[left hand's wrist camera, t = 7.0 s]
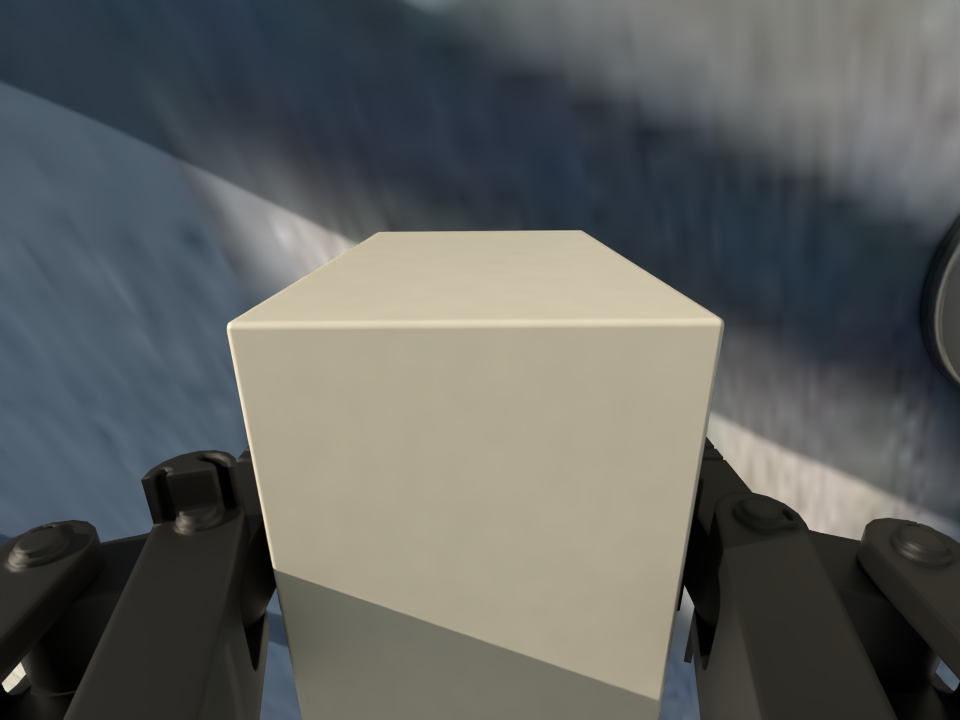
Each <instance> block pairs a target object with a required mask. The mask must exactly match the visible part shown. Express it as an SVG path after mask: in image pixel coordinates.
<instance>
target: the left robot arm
mask: <svg viewBox="0 0 960 720" xmlns="http://www.w3.org/2000/svg"><path fill="white" fill-rule="evenodd" d="M141 481H142V484H143V488H144V491H145V495H146V498H147V502H148V505H149V509H150V512H151V516H152V519H153V523H154V525H153V528H152V530H151V532H150V533H146V534H142V535H138V536H133V537H128V538H123V539H118V540H113V541H108V542H103V543H100V540H99V537H98V534H97V531H96V528H95V527H94V526H93V525H91V524H90V523H88V522H86V521H77V520H70V521H62V522H54V523H50V524H45V525H44V526H39V527H36V528H33V529H31V530H29V531H28V532H26V533H24V534H22V535H19V536H17V537H15V538H13V539H11V540H10V541H8V542H7V543H6V544H4V545H3V546H1V547H0V720H259V719H260V710H261V701H262V692H263V683H264V674H265V666H266V657H267V648H268V639H269V630H270V629H269V622H268V617H267V612H266V607H267V605H268V603H269V601H270V599H271V597H272V595H273V593H274V591H275V589H276V587H277V586H276V581H275V576H274V570H273V565H272V560H271V555H270V550H269V545H268V539H267V534H266V529H265V524H264V519H263V514H262V508H261V503H260V498H259V493H258V488H257V483H256V477H255V472H254V467H253V462H252V457H251V452H250V446H248V447H247V450H245V451H244V452H243V453H242V454H241V456H240V457H239V458H238V462H236V458H234V457H233V456H232V455H230V454H229V453H227V452H222V451H216V450H210V451H197V452H192V453H188V454H183V455H180V456H177V457H175V458H172V459H169V460H167V461H164V462H163V463H161V464H159V465H158V466H156V467H154V468H153V469H151V470H150V471H149V472H148V473H147V474H146V475H145V476H144V477H143V478H142V479H141ZM684 585H685V587H686V589H687V591H688V593H689V595H690V597H691V600H692V602H693V604H694V606H695V607H694V612H693V617H692V621H691V626H690V631H689V636H688V641H687V646H686V651H685V658H684V662H688V663H691V660H692V655H694V664H695V673H696V682H697V691H698V700H699V708H700V717H701V720H960V683H959V685H958V687H957V689H956V690H955V691H953V690H952V689H951V688H949V687H948V686H947V685H946V684H945V683H944V682H943V681H942V679H941V678H940V677H939V676H938V675H937V673H936V670H937V667H938V665H939V663H940V661H941V659H942V661H943V662H944V663H945V664H946V665H947V666H948V667H949V669H950V670H951V671H952V672H953V673H954V674H955V675H956V676H957V678H958V679H959V680H960V543H958V542H957V541H955V540H954V539H952V538H951V537H949V536H947V535H945V534H943V533H940V532H938V531H936V530H934V529H933V528H931V527H929V526H926V525H923V524H920V523H919V524H917V522H913V521H909V520H901V519H893V518H883V519H874V520H873V521H871V522H870V523H868V524H867V525H866V527H865V530H864V533H863V536H862V539H861V541H859V540H854V539H849V538H844V537H839V536H834V535H829V534H824V533H819V532H815V531H812V530H809V529H808V527H807V525H806V523H805V522H804V520H803V519H802V518H801V517H800V515H799V514H798V513H797V512H795V511H794V510H793V509H791V508H790V507H788V506H787V505H786V504H784V503H782V502H780V501H777V500H775V499H773V498H771V497H768V496H764V495H760V494H756V493H752V492H751V490H750V489H749V488H748V487H747V485H746V484H745V483H744V482H743V481H742V479H741V478H740V477H739V476H738V475H737V473H736V472H735V471H734V470H733V468H732V467H731V466H730V465H729V464H728V462H727V461H726V460H723V456H722V455H721V454H720V453H719V452H718V450H717V449H714V445H713V444H712V443H711V442H710V441H709V439H708V438H707V437H706V439H705V445H704V451H703V457H702V463H701V469H700V475H699V481H698V487H697V493H696V499H695V505H694V511H693V517H692V523H691V528H690V534H689V540H688V546H687V552H686V558H685V564H684V570H683V576H682V582H681V588H680V594H679V600H678V606H677V611H680V606H681V601H682V595H683V590H684ZM277 593H278V591H277ZM278 598H279V596H278ZM279 603H280V601H279ZM280 609H281V607H280ZM20 662H21V664H22V666H23V668H24V670H25V673H26V675H25V676H24V677H23V678H22V679H21V681H20V682H19V683H18V684H17V685H16V686H15V687H14V688H13V689H12V690H10V691H9V692H8V693H7V692H6V691H5V690H4V688H3V686H2V682H3V681H4V680H5V679H6V678H7V677H8V675H9V674H10V673H11V672H12V671H13V670H14V669H15V667H16V666H17V665H18V664H19V663H20Z"/></svg>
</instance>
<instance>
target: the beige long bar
mask: <svg viewBox="0 0 960 720" xmlns="http://www.w3.org/2000/svg"><path fill="white" fill-rule="evenodd" d="M723 332H724V321H723V319H721V318H720V317H718V316H717V315H715V314H713V313H712V312H710V311H709V310H707V309H705V308H704V307H702V306H701V305H699V304H697V303H696V302H694V301H693V300H691V299H690V298H688V297H686V296H685V295H683V294H682V293H680V292H678V291H677V290H675V289H674V288H672V287H670V286H669V285H667V284H666V283H664V282H663V281H661V280H659V279H658V278H656V277H655V276H653V275H651V274H650V273H648V272H647V271H645V270H643V269H642V268H640V267H639V266H637V265H636V264H634V263H632V262H631V261H629V260H628V259H626V258H624V257H623V256H621V255H620V254H618V253H616V252H615V251H613V250H612V249H610V248H609V247H607V246H605V245H604V244H602V243H601V242H599V241H597V240H596V239H594V238H593V237H591V236H589V235H588V234H586V233H585V232H583V231H581V230H561V231H445V232H378V233H376V234H375V235H373V236H371V237H370V238H368V239H366V240H365V241H363V242H361V243H360V244H358V245H356V246H355V247H353V248H352V249H350V250H348V251H347V252H345V253H343V254H342V255H340V256H338V257H337V258H335V259H333V260H332V261H330V262H328V263H327V264H325V265H323V266H322V267H320V268H318V269H317V270H315V271H314V272H312V273H310V274H309V275H307V276H305V277H304V278H302V279H300V280H299V281H297V282H295V283H294V284H292V285H290V286H289V287H287V288H285V289H284V290H282V291H280V292H279V293H277V294H276V295H274V296H272V297H271V298H269V299H267V300H266V301H264V302H262V303H261V304H259V305H257V306H256V307H254V308H252V309H251V310H249V311H247V312H246V313H244V314H242V315H241V316H239V317H238V318H236V319H234V320H233V321H231V322H229V323H228V326H227V333H228V338H229V343H230V348H231V353H232V358H233V364H234V369H235V374H236V379H237V384H238V390H239V395H240V400H241V405H242V410H243V415H244V421H245V426H246V431H247V436H248V441H249V446H250V452H251V457H252V462H253V467H254V472H255V477H256V483H257V488H258V493H259V498H260V503H261V508H262V514H263V519H264V524H265V529H266V534H267V539H268V545H269V550H270V555H271V560H272V565H273V570H274V576H275V581H276V586H277V591H278V596H279V601H280V607H281V612H282V617H283V622H284V627H285V632H286V638H287V643H288V648H289V653H290V658H291V663H292V669H293V674H294V679H295V684H296V689H297V694H298V700H299V705H300V710H301V715H302V720H658V719H659V713H660V707H661V701H662V695H663V690H664V684H665V678H666V672H667V666H668V660H669V654H670V648H671V642H672V636H673V630H674V624H675V618H676V612H677V606H678V600H679V594H680V588H681V582H682V576H683V570H684V564H685V558H686V552H687V546H688V540H689V534H690V528H691V523H692V517H693V511H694V505H695V499H696V493H697V487H698V481H699V475H700V469H701V463H702V457H703V451H704V445H705V439H706V433H707V427H708V421H709V415H710V409H711V403H712V397H713V391H714V385H715V379H716V373H717V367H718V361H719V356H720V350H721V344H722V338H723Z"/></svg>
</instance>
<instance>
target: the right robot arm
mask: <svg viewBox="0 0 960 720" xmlns="http://www.w3.org/2000/svg"><path fill="white" fill-rule="evenodd" d="M921 315H922V330H923V336H924V340H925V344H926V347H927V350H928V352H929V355H930V357H931V358H932V360H933V362H934V364H935V365H936V367H937V368H938V369H939V371H940V372H941V373H942V374H943V375H944V376H945V377H946V378H947V379H948V380H949V381H950V382H952V383H953V384H954V385H956V386H957V387H958V388H960V218H959V219H958V220H957V222H956V223H955V225H954V226H953V227H952V229H951V230H950V232H949V233H948V235H947V237H946V238H945V240H944V242H943V243H942V245H941V247H940V249H939V251H938V253H937V255H936V257H935V259H934V262H933V264H932V267H931V269H930V272H929V275H928V278H927V281H926V285H925V289H924V294H923V300H922V311H921Z"/></svg>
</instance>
